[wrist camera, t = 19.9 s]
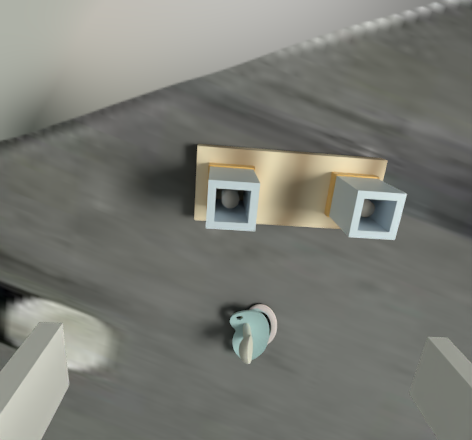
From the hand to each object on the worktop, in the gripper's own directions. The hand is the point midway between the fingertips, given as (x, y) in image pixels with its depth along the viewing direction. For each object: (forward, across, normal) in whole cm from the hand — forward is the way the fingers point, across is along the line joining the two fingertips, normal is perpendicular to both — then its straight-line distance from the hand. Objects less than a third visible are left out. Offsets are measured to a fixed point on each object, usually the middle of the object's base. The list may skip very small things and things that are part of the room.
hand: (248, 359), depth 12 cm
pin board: (+27, +6, 0) cm, 27 cm away
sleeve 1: (+25, 0, 0) cm, 25 cm away
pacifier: (+27, +5, -18) cm, 33 cm away
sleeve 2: (+25, +13, 0) cm, 28 cm away
